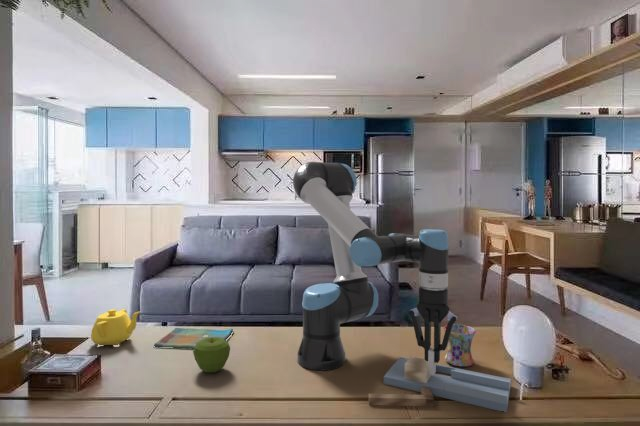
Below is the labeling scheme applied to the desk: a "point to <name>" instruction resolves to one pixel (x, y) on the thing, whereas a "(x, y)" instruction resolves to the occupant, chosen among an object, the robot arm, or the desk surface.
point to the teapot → (113, 327)
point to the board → (457, 385)
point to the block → (416, 369)
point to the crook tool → (403, 399)
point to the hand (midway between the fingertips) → (431, 372)
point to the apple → (211, 354)
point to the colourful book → (190, 337)
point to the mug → (460, 345)
